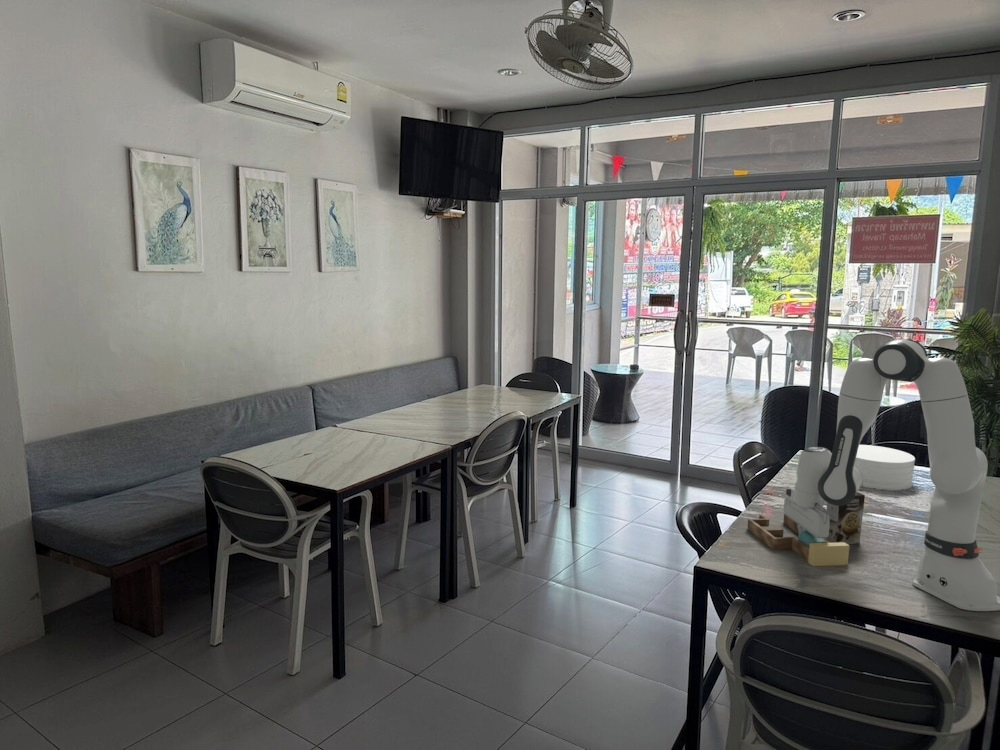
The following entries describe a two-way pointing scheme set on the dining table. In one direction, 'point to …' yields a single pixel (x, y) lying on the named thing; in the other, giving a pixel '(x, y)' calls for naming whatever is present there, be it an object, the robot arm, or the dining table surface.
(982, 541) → the dining table surface
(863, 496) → the coffee box
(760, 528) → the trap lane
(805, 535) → the block
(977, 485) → the robot arm
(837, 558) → the bumper
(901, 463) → the plate stack
